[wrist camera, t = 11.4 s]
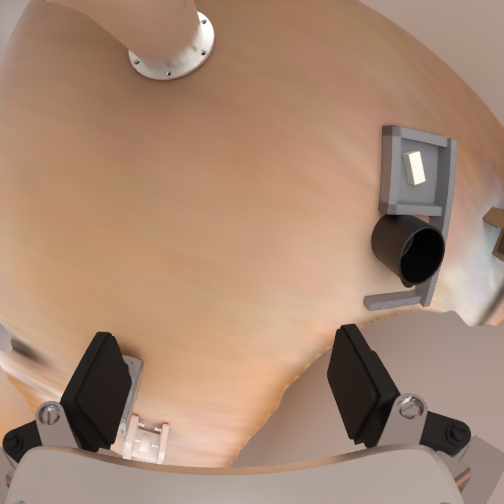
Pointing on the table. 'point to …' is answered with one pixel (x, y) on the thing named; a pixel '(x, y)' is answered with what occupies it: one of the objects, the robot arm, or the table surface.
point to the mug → (408, 247)
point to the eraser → (413, 167)
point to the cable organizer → (145, 442)
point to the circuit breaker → (131, 391)
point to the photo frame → (498, 220)
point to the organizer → (416, 196)
